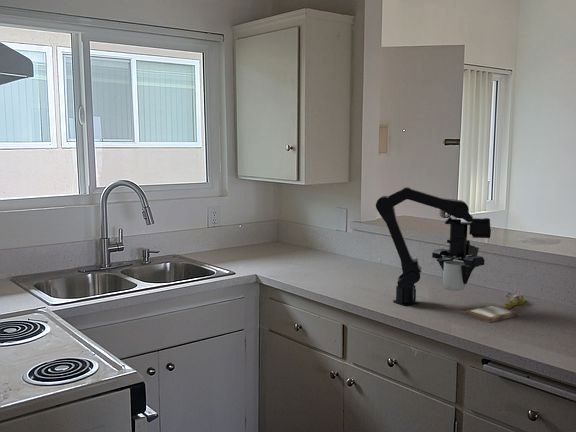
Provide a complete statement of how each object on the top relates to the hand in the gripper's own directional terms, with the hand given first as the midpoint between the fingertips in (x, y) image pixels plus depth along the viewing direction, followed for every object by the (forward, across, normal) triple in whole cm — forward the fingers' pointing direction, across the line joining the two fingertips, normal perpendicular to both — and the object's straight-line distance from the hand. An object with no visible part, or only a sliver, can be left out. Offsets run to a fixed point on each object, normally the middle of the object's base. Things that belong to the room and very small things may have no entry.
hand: (456, 281), depth 198 cm
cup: (+2, +1, 0) cm, 2 cm away
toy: (+9, -9, -20) cm, 23 cm away
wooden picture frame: (+9, -13, -2) cm, 16 cm away
